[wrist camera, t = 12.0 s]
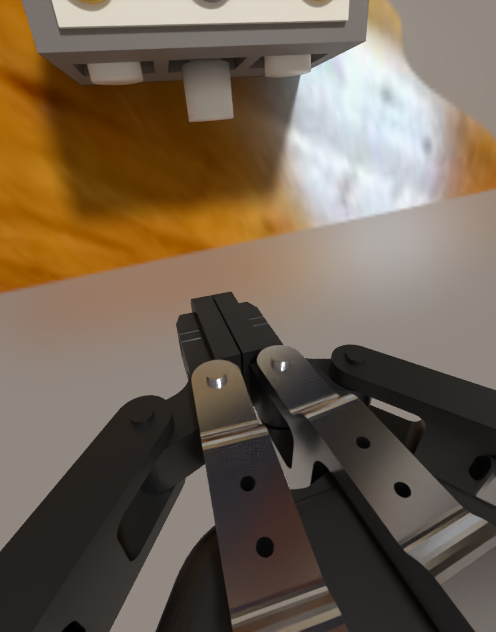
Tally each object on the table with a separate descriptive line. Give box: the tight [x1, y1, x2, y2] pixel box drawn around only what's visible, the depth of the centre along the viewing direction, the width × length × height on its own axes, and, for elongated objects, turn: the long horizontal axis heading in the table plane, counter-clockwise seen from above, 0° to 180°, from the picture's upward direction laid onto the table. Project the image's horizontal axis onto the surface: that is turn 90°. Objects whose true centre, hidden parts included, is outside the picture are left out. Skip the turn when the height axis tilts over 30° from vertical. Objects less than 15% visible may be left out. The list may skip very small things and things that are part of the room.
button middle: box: [181, 58, 234, 122], centre depth 24 cm, size 4×6×4 cm, turn 4°
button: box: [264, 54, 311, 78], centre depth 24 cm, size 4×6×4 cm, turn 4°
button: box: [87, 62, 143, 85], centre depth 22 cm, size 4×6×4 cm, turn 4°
